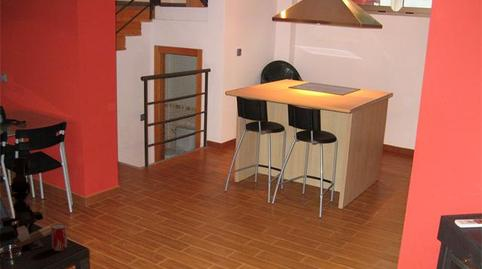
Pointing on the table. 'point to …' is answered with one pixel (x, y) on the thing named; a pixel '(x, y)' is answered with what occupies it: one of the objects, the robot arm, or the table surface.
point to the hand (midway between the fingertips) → (22, 235)
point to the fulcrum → (35, 244)
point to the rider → (23, 234)
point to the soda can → (59, 237)
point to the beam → (35, 236)
